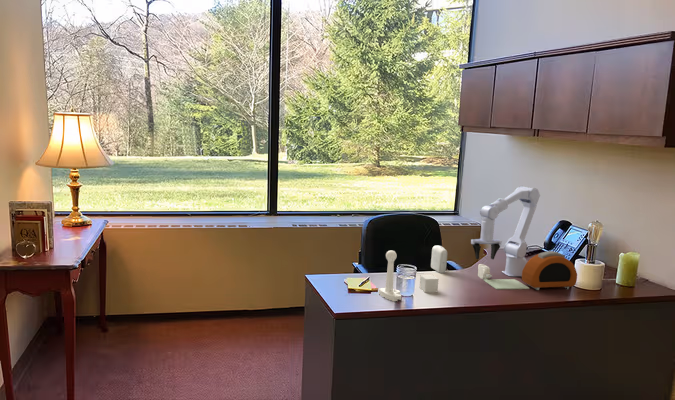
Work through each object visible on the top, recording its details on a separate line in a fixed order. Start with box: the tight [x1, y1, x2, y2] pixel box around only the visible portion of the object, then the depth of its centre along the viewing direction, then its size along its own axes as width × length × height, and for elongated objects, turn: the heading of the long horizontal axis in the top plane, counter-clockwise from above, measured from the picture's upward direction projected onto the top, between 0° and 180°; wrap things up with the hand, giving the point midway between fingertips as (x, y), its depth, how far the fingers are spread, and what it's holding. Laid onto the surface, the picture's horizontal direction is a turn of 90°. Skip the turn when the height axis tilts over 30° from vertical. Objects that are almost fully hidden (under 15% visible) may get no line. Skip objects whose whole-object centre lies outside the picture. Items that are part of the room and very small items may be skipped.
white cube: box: [419, 274, 439, 293], centre depth 228 cm, size 6×6×6 cm
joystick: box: [378, 250, 402, 302], centre depth 216 cm, size 11×8×20 cm
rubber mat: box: [483, 278, 530, 290], centre depth 241 cm, size 16×13×1 cm
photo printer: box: [430, 245, 448, 274], centre depth 259 cm, size 10×4×12 cm, turn 17°
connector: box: [477, 263, 493, 281], centre depth 249 cm, size 3×11×6 cm, turn 10°
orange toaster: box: [521, 250, 578, 291], centre depth 240 cm, size 23×9×17 cm, turn 103°
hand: (484, 258), depth 249 cm, fingers open, 7 cm apart
